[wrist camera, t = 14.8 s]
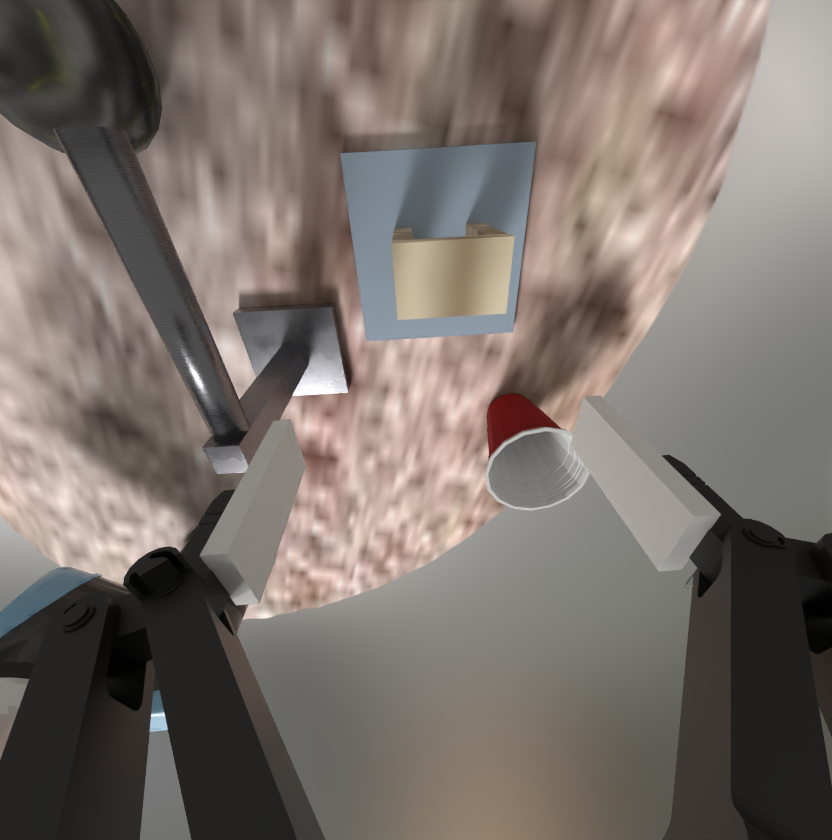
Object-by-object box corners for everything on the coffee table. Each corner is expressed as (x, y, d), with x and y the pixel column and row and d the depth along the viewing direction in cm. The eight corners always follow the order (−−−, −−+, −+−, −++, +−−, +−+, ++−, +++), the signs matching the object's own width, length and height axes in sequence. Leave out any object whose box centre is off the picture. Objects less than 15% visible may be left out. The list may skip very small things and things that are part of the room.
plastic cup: (539, 359, 39) (585, 416, 29) (557, 425, 45) (600, 491, 35) (454, 394, 41) (471, 457, 32) (481, 452, 47) (502, 521, 37)
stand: (268, 391, 40) (187, 512, 25) (187, 163, 28) (-77, 132, 12) (349, 386, 40) (317, 505, 25) (306, 156, 27) (188, 116, 12)
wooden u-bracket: (398, 285, 33) (397, 320, 24) (394, 227, 30) (391, 243, 21) (478, 280, 33) (506, 313, 24) (482, 222, 30) (514, 236, 21)
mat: (367, 337, 37) (366, 341, 36) (341, 154, 27) (340, 153, 27) (510, 329, 37) (512, 332, 36) (532, 142, 27) (536, 141, 27)
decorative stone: (211, 75, 25) (116, 19, 16) (164, 195, 29) (69, 198, 21) (52, -77, 21) (-179, -253, 12) (23, 88, 25) (-164, 38, 16)
